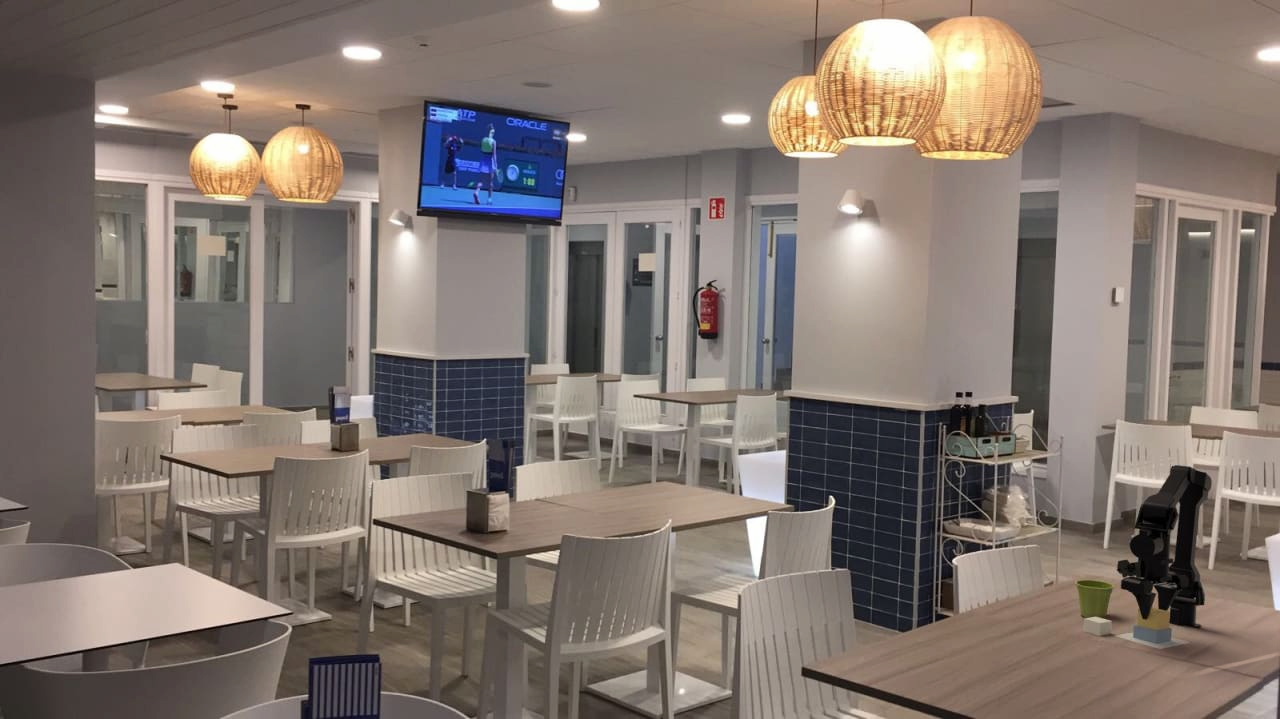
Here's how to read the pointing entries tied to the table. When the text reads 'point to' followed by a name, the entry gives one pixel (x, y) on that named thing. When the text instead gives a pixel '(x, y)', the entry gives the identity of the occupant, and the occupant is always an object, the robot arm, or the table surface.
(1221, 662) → the table surface
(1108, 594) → the plant pot
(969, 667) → the table surface
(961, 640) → the table surface
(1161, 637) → the base brick
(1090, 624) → the brick cream
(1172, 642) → the build plate
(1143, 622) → the brick ochre
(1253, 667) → the table surface
